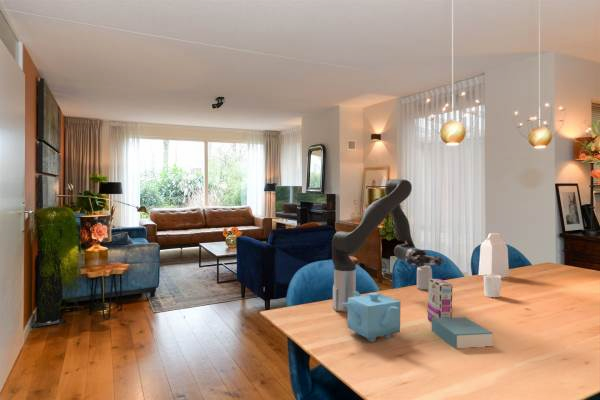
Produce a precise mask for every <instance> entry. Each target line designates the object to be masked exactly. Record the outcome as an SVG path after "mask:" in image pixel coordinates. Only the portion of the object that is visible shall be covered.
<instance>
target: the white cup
mask: <svg viewBox="0 0 600 400" xmlns="http://www.w3.org/2000/svg"><path fill="white" fill-rule="evenodd" d="M501 288H502V279H501V276H499V275H494V274H485V275H484V276H483V293H484V296H485V297H486V298H491V297H494V298H493V299H496V298H495V297H499V298H500V297H501Z"/></svg>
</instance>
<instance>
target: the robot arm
mask: <svg viewBox="0 0 600 400" xmlns="http://www.w3.org/2000/svg"><path fill="white" fill-rule="evenodd" d="M412 188H413V187H412V183H411V182H410V181H409V180H407V179H403V178H402V179H400V178H399V179H390V180H388V181H387V182H386V184H385V194H386V195H385V196H383V197H380V198H379V199H377V200H375V201H372V203H370V205H368V206H367V207H366V208H365V209H364V210H363V211H362V213H361V216H360V217H361V218H360V223H359V225H358V226H357V227H356V228H355V229H354V230H353V231H351V232H349V231H336V233H334V235H333V237H332V240H331V254H332V255H331V258H332V264H333V266H334V267H333V269H334V270H333V285H332V308H333V309H334V311H335V312H343V313H344V312H345V313H346V312H347V313H348V309H347V307H346V306H345V305H343V304H341V303H344V302H348V298H350V297H356V296H355V294H354V292H353V291H356V289H357V288H356V280H357V278H356V277H357V275H356V274H357V273H356V271H357V267H356V262H355V261H354V260H352V259H351V257H350V255H353V254H355V253H356V252H358V251H359V250H360V248H361V247H362V246H363V244H364V243H365V242H366V240H367V239H368V238H369V236H370V235H371V234H372V233H373V232H374V231H375V230H376V229H377V228H378V226H380V224H381V223H383V222H384V220H385V219H386V218H387V217H388V216H389V215H390V214H391V215H392V219H393V223H394V224H393V225H394V231H395V237H396V240H397V241H402V242H406V243H402V244H397V245H396V246H395V247H394V250H393V253H394V257H396V258H397V259H398V260H400V261H401V260H402V261H405V263H407V265H409V266H411V265H414V266H415V267H417V268H418V267H422V266H424V265H428V266H432V265H436V266H438V267H441V265H442V264H443V261H442V260H443V259H442V258H441V257H439V256H436V255H434V256H430V255H428V254H427V252H426V251H424V250H422V249H420V248H418V247H416V245H415V243H414V240H413V237H412V235H411V226H410V222H409V219H408V217H407V216H406V214H405V212H404V211H403V210H402V207H401V205H400V204H402V203H403V202H404V201H405V200H406V199H408V197H409V196H410V195H411V193H412V190H413V189H412Z"/></svg>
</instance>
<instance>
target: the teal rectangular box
mask: <svg viewBox="0 0 600 400" xmlns="http://www.w3.org/2000/svg"><path fill="white" fill-rule="evenodd" d="M431 332H432V333H434V334H435V335H436V336H438V337H439V338H440V339H442V340H443V341H444V342H445V343H447V344H448V345H450V347H452V348H453V347H454V348H453V349H455V348H456V349H471V348H470V347H477V348H486V347H485V346H492V347H493V332H492V331H490V330H488V329H487V328H484V327H483V326H481V325H479V324H478V323H476V322H474V321H473V320H471V319H469V318H467V317H466V316H459V317H457V316H456V317H453V316H452V318H432V322H431ZM468 347H469V348H468Z"/></svg>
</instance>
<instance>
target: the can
mask: <svg viewBox="0 0 600 400" xmlns="http://www.w3.org/2000/svg"><path fill="white" fill-rule="evenodd" d="M429 279H433V269H432V267H431V265H427V264H425V265H424V266H422V267H417V268H416V288H417V289H418V290H421V291H428V285H429Z"/></svg>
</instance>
